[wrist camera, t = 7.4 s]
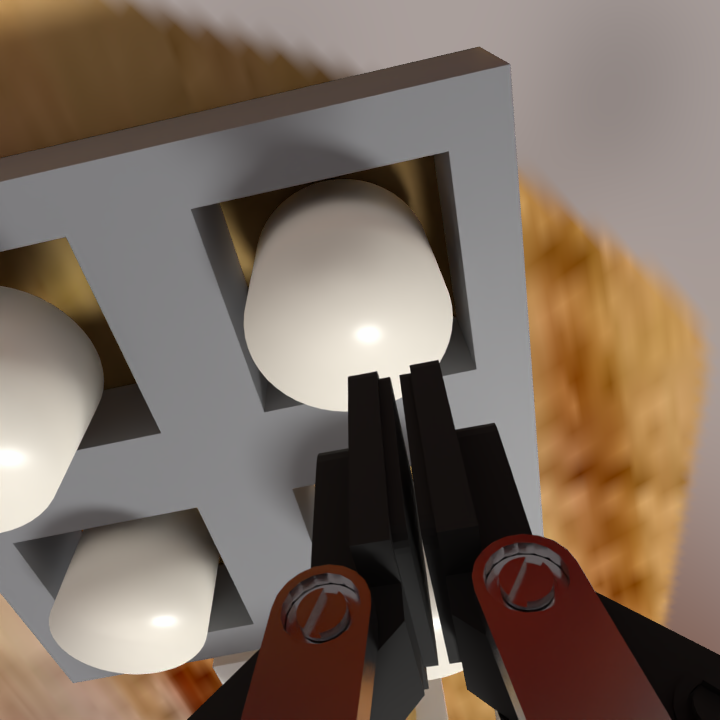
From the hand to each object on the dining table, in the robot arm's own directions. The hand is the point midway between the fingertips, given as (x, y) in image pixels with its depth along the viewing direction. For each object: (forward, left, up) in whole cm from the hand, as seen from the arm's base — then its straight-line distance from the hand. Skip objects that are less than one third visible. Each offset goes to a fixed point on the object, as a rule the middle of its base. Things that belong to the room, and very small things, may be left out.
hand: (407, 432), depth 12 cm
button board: (+5, +4, -8) cm, 11 cm away
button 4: (+10, +9, -7) cm, 15 cm away
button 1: (+1, 0, -7) cm, 7 cm away
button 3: (+10, 0, -5) cm, 11 cm away
